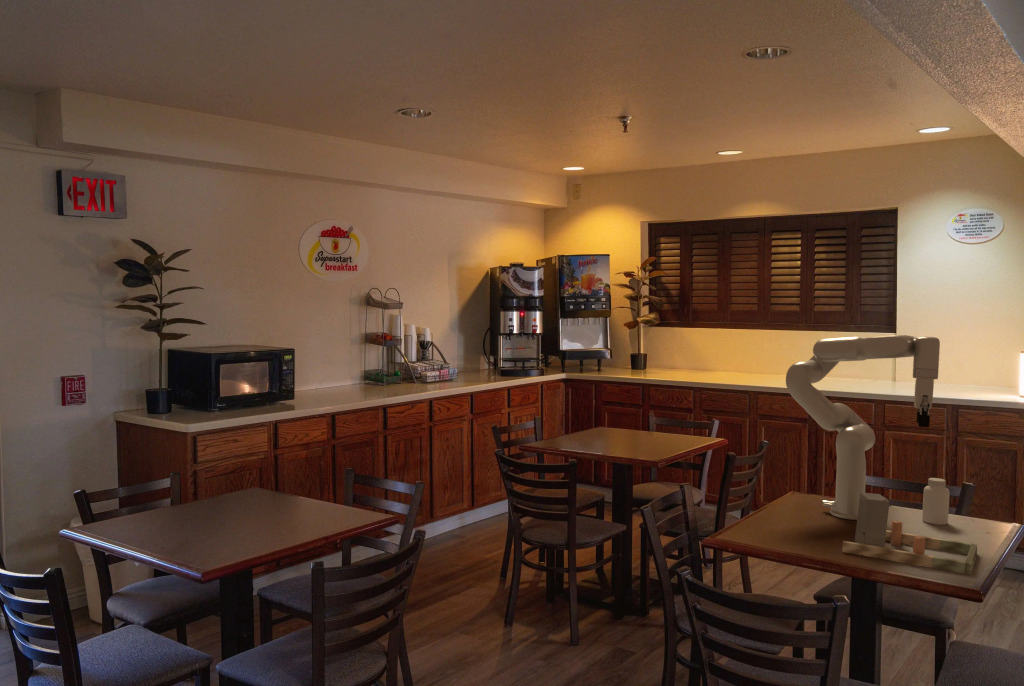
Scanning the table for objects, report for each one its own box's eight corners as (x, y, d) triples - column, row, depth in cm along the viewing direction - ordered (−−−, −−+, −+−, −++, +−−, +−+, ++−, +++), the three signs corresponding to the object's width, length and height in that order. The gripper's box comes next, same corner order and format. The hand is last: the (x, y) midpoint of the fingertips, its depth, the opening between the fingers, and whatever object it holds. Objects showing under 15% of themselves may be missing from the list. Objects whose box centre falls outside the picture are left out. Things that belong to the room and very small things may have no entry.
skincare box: (854, 542, 251) (856, 491, 250) (878, 543, 250) (880, 492, 250) (863, 550, 243) (865, 498, 242) (887, 551, 242) (890, 499, 241)
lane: (842, 551, 240) (842, 541, 240) (857, 534, 259) (857, 525, 259) (971, 574, 222) (971, 564, 222) (976, 554, 241) (977, 544, 241)
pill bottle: (927, 524, 274) (929, 481, 274) (918, 518, 282) (920, 476, 282) (952, 526, 273) (954, 482, 273) (942, 519, 281) (944, 477, 281)
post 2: (911, 561, 232) (913, 537, 232) (913, 559, 235) (914, 535, 234) (923, 563, 230) (924, 539, 230) (924, 561, 233) (925, 537, 233)
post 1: (889, 544, 249) (890, 522, 249) (891, 542, 252) (892, 520, 251) (900, 546, 247) (901, 523, 247) (901, 544, 250) (902, 521, 250)
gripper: (911, 371, 276) (909, 421, 277) (914, 375, 260) (911, 427, 261) (936, 372, 273) (933, 423, 273) (940, 376, 257) (937, 429, 258)
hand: (922, 425), depth 267 cm, fingers open, 9 cm apart
